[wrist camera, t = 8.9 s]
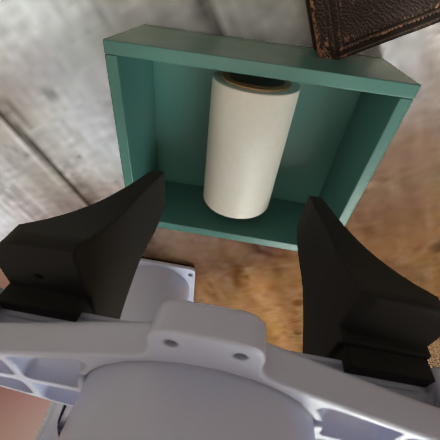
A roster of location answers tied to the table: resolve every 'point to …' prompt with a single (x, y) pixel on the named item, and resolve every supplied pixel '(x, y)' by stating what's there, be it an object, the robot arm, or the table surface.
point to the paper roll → (246, 141)
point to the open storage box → (297, 136)
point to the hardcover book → (365, 23)
